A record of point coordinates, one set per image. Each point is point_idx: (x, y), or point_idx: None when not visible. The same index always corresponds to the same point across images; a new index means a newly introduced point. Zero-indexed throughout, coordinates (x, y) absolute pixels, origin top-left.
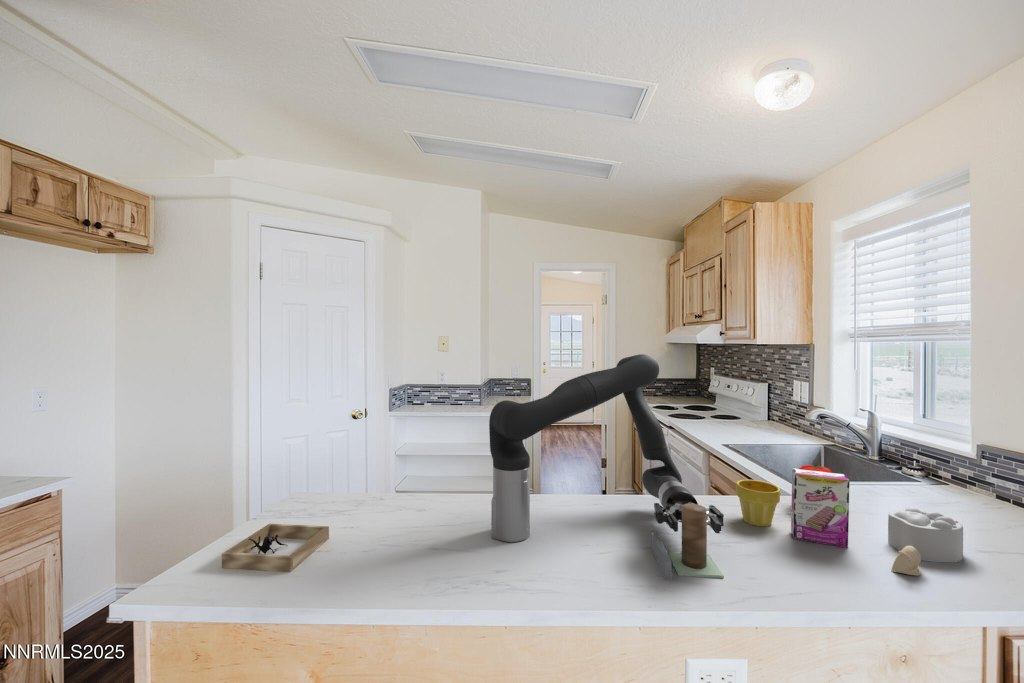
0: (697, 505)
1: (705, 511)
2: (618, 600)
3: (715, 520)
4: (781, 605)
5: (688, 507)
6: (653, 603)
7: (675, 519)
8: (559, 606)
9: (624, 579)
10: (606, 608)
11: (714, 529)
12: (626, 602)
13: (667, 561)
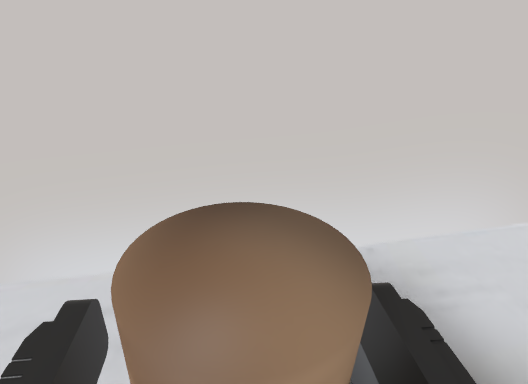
0: (178, 327)
1: (166, 220)
2: (435, 257)
3: (52, 347)
4: (63, 290)
5: (301, 260)
6: (365, 258)
7: (390, 309)
8: (517, 232)
9: (475, 331)
10: (441, 237)
11: (93, 370)
12: (417, 254)
13: None
